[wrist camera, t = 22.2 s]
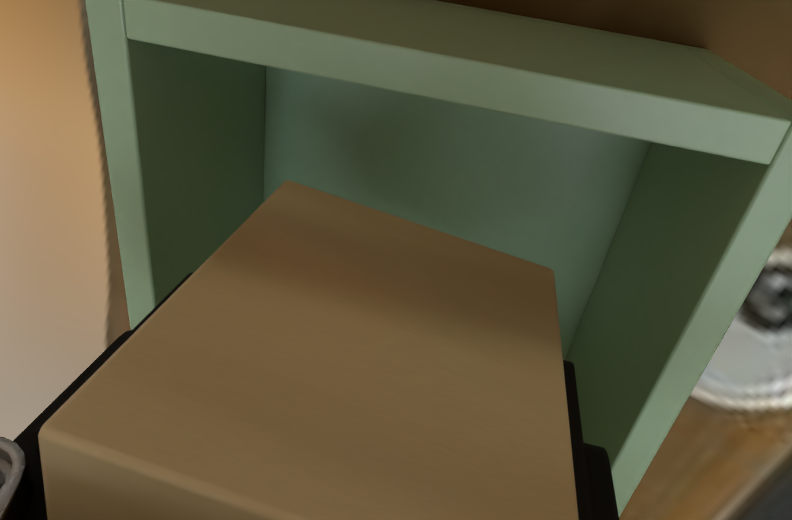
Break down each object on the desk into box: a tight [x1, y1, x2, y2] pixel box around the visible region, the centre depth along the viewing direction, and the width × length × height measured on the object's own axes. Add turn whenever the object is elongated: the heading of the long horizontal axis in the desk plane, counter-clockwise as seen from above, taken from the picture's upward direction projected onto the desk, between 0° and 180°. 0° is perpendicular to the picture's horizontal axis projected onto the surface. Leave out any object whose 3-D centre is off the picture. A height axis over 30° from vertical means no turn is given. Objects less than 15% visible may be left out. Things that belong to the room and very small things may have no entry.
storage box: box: [85, 0, 792, 516], centre depth 17 cm, size 15×14×8 cm
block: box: [38, 180, 579, 520], centre depth 9 cm, size 5×5×6 cm
